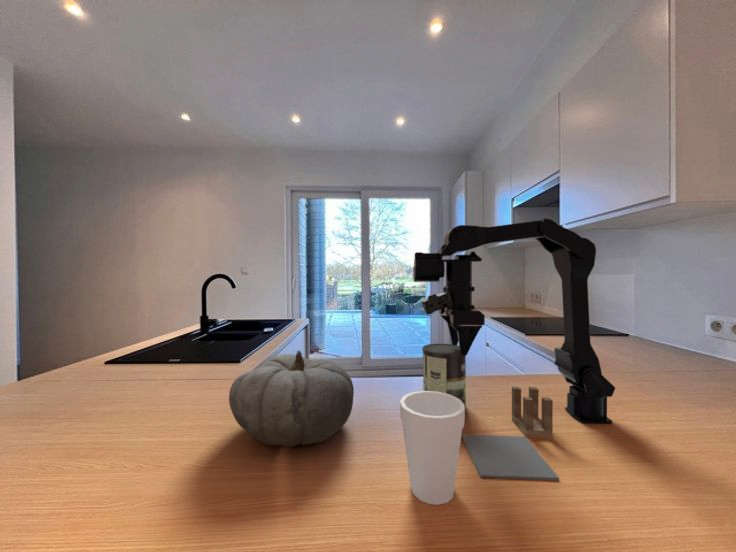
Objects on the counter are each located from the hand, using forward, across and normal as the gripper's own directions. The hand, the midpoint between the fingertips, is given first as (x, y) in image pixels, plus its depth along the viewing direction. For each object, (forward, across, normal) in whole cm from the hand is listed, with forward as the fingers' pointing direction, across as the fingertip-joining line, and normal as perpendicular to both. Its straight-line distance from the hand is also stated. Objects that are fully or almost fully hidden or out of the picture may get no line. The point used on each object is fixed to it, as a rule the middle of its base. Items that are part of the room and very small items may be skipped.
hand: (458, 349), depth 70 cm
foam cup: (+15, +25, -10) cm, 31 cm away
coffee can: (+15, -4, -3) cm, 16 cm away
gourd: (+15, +9, -36) cm, 40 cm away
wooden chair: (+15, +6, +13) cm, 21 cm away
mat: (+15, +16, +4) cm, 22 cm away
